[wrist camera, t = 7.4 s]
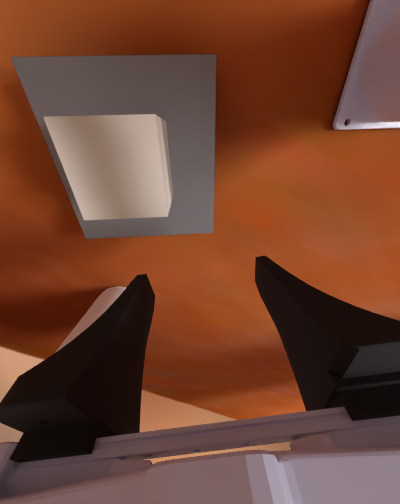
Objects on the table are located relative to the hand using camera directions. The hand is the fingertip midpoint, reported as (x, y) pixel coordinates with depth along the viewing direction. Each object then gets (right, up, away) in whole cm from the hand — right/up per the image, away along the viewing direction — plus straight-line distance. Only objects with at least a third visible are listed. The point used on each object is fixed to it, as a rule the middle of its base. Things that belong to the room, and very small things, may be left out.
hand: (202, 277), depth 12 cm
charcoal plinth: (-5, +10, +4) cm, 12 cm away
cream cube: (-5, +9, +2) cm, 10 cm away
